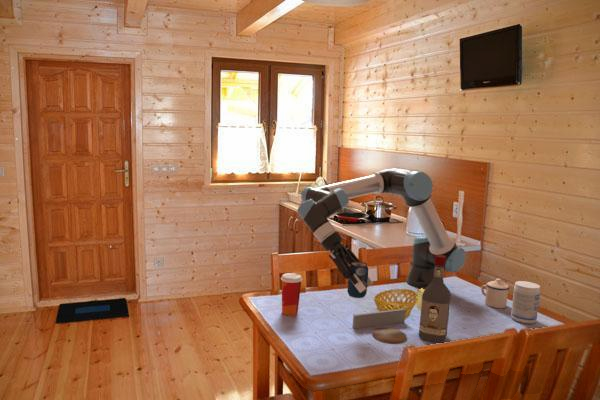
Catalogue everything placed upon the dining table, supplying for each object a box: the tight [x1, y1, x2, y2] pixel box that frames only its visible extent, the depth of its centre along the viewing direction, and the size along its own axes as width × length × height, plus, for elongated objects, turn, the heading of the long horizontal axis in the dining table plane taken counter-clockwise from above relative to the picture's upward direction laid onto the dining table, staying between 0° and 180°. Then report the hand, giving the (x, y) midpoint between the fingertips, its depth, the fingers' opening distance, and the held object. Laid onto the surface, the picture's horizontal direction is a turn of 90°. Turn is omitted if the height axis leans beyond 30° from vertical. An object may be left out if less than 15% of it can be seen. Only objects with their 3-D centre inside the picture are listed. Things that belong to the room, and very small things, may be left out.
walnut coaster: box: [371, 327, 407, 344], centre depth 187 cm, size 12×12×1 cm
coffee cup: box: [280, 272, 303, 317], centre depth 202 cm, size 8×8×15 cm
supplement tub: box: [510, 280, 541, 325], centre depth 209 cm, size 10×10×15 cm
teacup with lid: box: [480, 278, 510, 309], centre depth 226 cm, size 12×9×12 cm
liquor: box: [418, 255, 452, 344], centre depth 185 cm, size 9×9×30 cm
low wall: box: [352, 308, 407, 330], centre depth 196 cm, size 1×22×5 cm, turn 114°
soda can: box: [347, 261, 369, 299], centre depth 190 cm, size 7×7×12 cm
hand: (366, 287), depth 189 cm, fingers closed on soda can, 7 cm apart
